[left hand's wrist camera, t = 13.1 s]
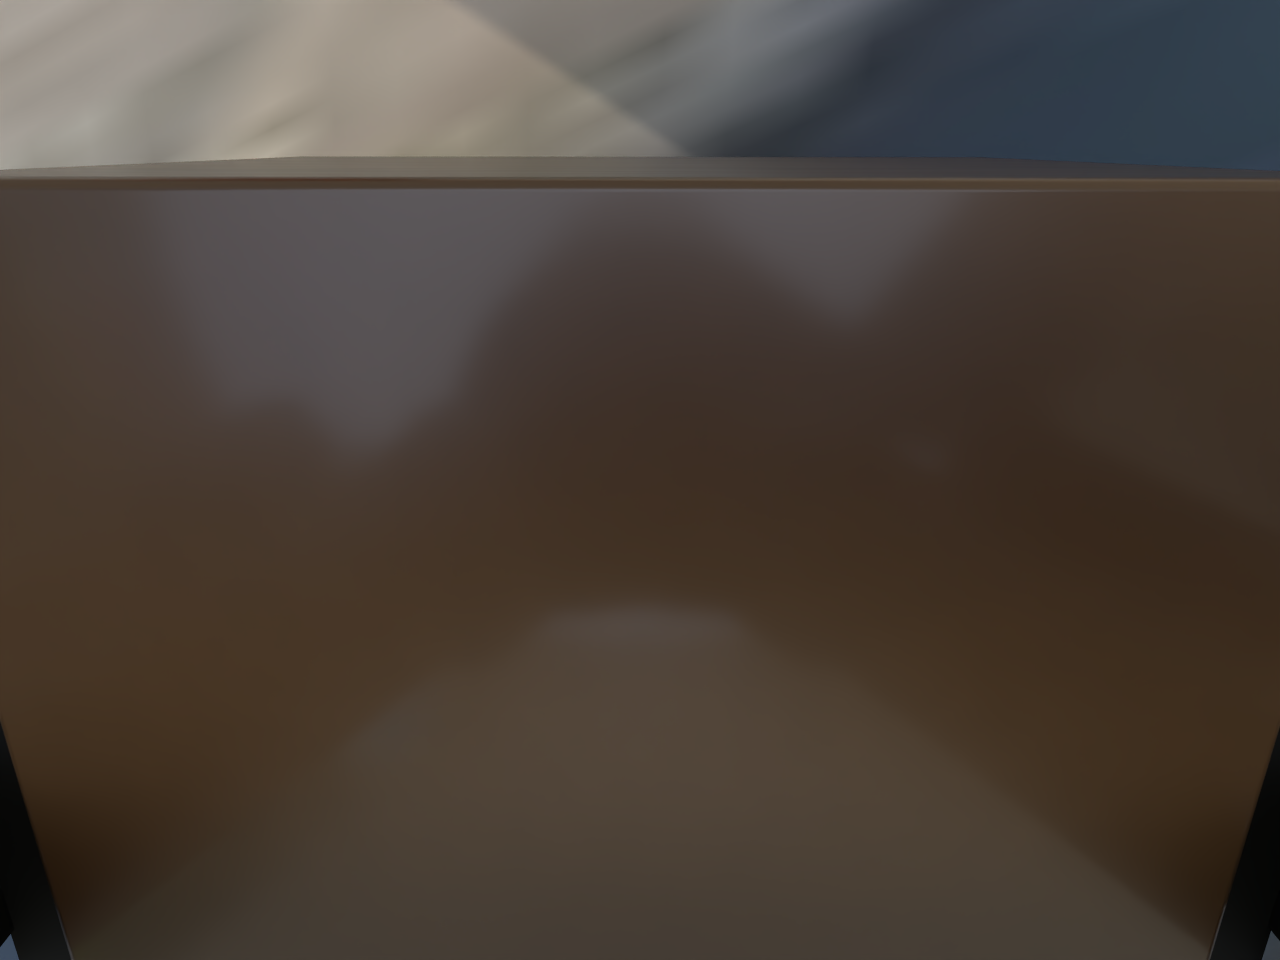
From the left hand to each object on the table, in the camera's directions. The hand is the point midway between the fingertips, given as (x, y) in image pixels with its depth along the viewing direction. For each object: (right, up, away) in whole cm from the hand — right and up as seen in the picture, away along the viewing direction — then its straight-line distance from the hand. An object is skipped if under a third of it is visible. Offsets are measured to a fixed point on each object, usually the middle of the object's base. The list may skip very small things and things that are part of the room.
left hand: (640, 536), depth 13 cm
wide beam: (0, -23, +9) cm, 25 cm away
